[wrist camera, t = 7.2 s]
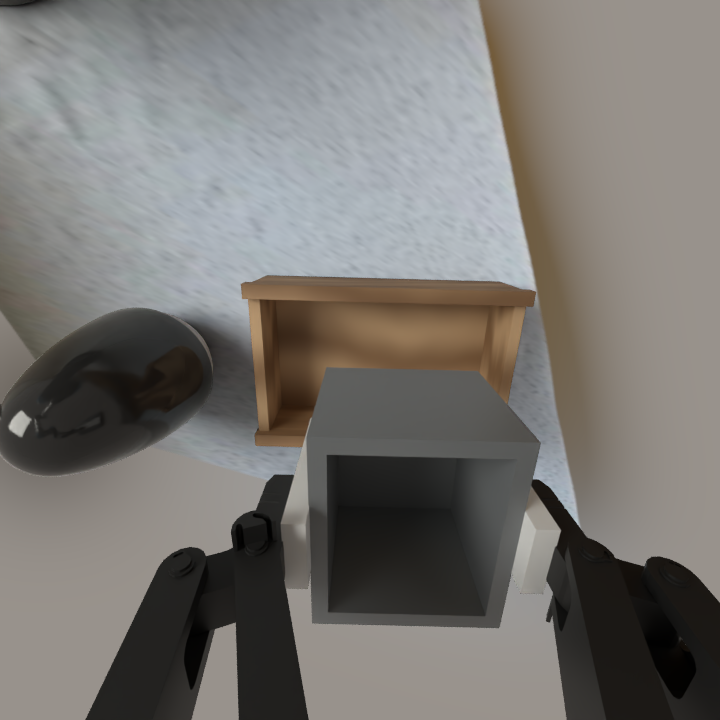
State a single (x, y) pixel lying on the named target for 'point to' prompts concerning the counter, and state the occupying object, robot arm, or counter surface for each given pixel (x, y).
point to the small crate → (414, 497)
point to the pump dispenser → (105, 393)
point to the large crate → (372, 336)
